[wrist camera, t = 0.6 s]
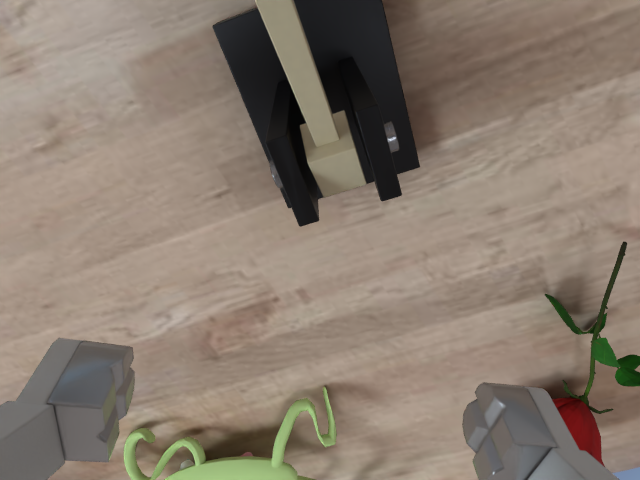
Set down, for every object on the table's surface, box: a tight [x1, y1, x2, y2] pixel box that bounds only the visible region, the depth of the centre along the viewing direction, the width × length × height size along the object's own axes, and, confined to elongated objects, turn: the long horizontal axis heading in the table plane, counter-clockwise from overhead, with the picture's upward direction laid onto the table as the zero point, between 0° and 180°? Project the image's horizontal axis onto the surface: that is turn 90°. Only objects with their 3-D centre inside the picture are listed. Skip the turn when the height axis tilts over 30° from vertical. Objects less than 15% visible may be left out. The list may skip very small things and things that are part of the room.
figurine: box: [124, 387, 337, 480], centre depth 49 cm, size 18×27×6 cm
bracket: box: [213, 0, 420, 226], centre depth 25 cm, size 13×10×13 cm
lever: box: [255, 0, 367, 198], centre depth 17 cm, size 13×5×2 cm, turn 18°
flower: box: [545, 242, 640, 467], centre depth 40 cm, size 9×10×30 cm
